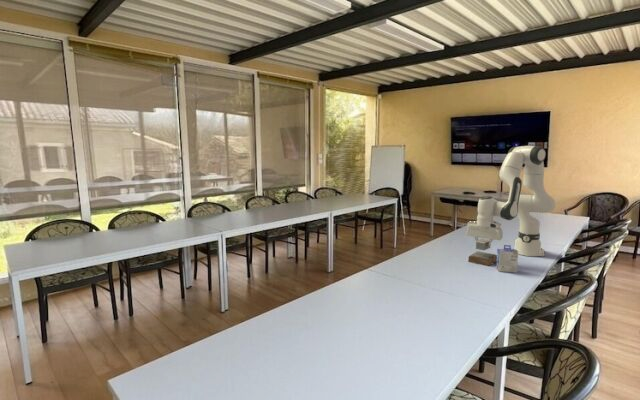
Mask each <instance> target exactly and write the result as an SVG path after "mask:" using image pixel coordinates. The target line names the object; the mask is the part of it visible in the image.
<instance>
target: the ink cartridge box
mask: <svg viewBox="0 0 640 400" xmlns="http://www.w3.org/2000/svg"><path fill="white" fill-rule="evenodd" d="M496 251H497V253H496V255H497V261H496V270H497V271H498V272H504V273H505V272H506V273H518V262H519V261H518V259H519V254H518V251H517V250H516V249H514V248H512V247H511V245H510V244H503V248H497V250H496Z"/></svg>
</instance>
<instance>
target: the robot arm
mask: <svg viewBox="0 0 640 400" xmlns="http://www.w3.org/2000/svg"><path fill="white" fill-rule="evenodd" d="M546 155H547V152H546V150H545V148H544V147H543V146H538V145H521V146H513V147H511V148H510V149H509V150H508V152H507V155H506V156H505V158H504V160H503V161H502V164H501V167H500V169H499V172H498V176H499V179H500V180H501V181H502V182H503V183H505V184H506V185H508V186H509V193H508V198H507V201H506V202H504V201H499V200H496V199H494V197H493V196H490V195H483V196H481V197H480V198H479V200H478V203H477V217H476V221H473V220H472V221H471V220H470V221H468V222H467V224H466V226H467V228H466V235H467V236H469V237H474V240H475V242H476V241H477V240H479V238H480V239H482V238H483V239H489V240H490V242H489V243H487V244H488V245H487V246H490V247H491V246H492V243H493V241H494V240H495V241H501V240H502V239H503V229H502V223H501V222H498V221H497V220H496V221H495V220H494V217H496V218H498V219H499V218H500V219H503V220H507V221H512V220H514V219H515V218H516V217H518V219H519V220H518V221H519V231H518V235H517V236H518V237H517V238H516V239H515V243H514V248H513V249H516V250H517V251H518V255H521V256H527V257H545V249H543V247H542V242H541V240H540V237H541V236H540V235H541V234H540V228H541V227H540V226H541V224H540V221H539V219H537V218H536V217H534V216H532V215H531V214H530V213H540V214H541V213H551V212H553V211H554V210H555V207H556V201H555V199H554V198H553V197H552V196H550V194H548V192H547V191H546V189H545V185H544V178H545V164H544V163H545V162H544V161H545V159H546ZM523 166H524V169H523ZM522 169H523V176H522V177H523V179H521V177H520V176H521V172H522ZM522 186H523V187H524V188H526V189H527V190H529V191H531V192H532V193H533V194H521V191H522Z"/></svg>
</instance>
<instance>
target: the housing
mask: <svg viewBox="0 0 640 400" xmlns="http://www.w3.org/2000/svg"><path fill="white" fill-rule="evenodd" d="M489 242H490V239H487V238H480V239H478V240H477V241H476V240H475V249H476V250H478V251H486V250H489V249H491V246H487V245H488V244H487V243H489Z"/></svg>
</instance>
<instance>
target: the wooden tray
mask: <svg viewBox="0 0 640 400" xmlns="http://www.w3.org/2000/svg"><path fill="white" fill-rule="evenodd" d="M468 262H469V263H472V264H477V265H483V266H487V267H490V266H491V265H493V263H496V262H497V254H494V253H489V252H484V251H481V250H478V251H475V252H473V253H471V254H470V255H469V256H468Z"/></svg>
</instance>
